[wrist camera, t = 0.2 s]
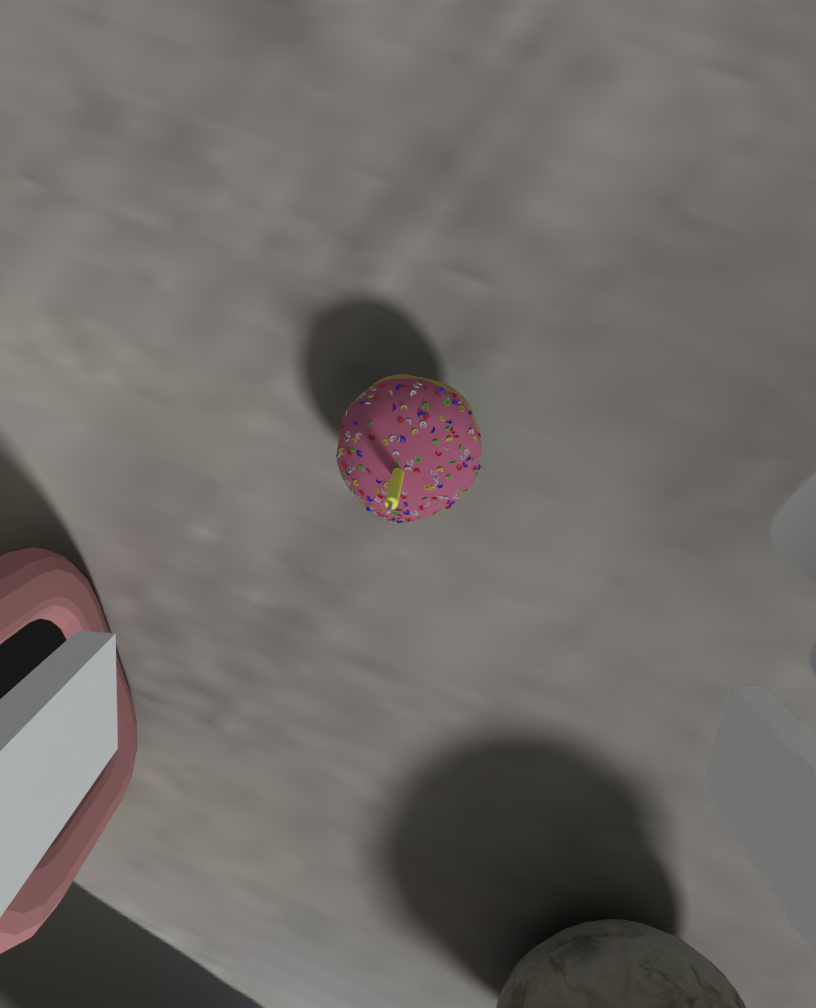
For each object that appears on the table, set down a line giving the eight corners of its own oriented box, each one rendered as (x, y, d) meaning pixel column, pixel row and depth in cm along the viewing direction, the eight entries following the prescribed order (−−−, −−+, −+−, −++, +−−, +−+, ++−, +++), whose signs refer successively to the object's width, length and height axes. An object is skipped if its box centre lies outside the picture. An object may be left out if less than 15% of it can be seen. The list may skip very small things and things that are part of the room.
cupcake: (427, 523, 41) (440, 593, 29) (318, 460, 40) (286, 506, 28) (496, 415, 39) (539, 443, 27) (384, 345, 38) (380, 343, 26)
